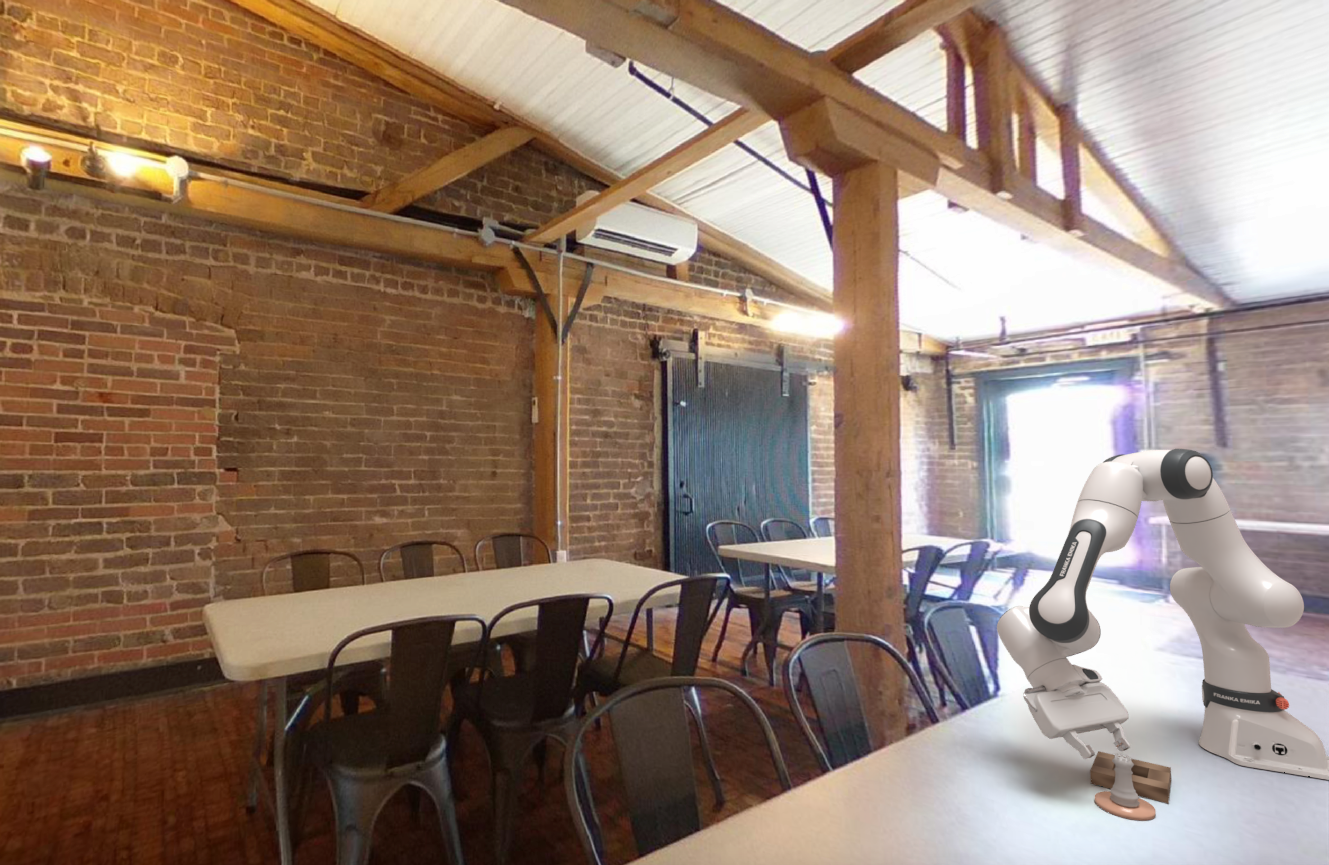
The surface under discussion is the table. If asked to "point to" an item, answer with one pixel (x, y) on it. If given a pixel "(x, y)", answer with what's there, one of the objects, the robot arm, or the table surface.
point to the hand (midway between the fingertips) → (1108, 753)
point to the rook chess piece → (1124, 783)
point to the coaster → (1125, 808)
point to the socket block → (1134, 777)
